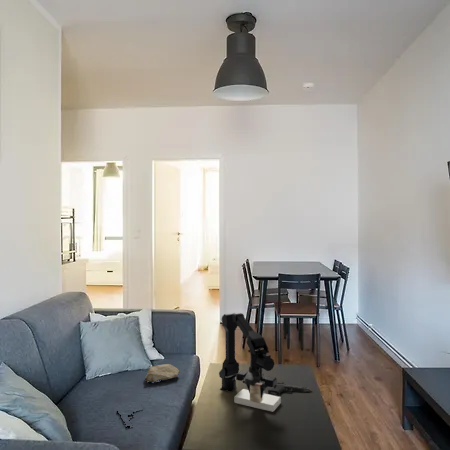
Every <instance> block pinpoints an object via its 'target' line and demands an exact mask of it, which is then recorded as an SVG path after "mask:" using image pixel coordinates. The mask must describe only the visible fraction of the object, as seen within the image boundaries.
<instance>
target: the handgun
mask: <svg viewBox="0 0 450 450" xmlns="http://www.w3.org/2000/svg"><path fill="white" fill-rule="evenodd" d="M283 392H287V393H293V392H296V393H297V392H300V393H309V392H312V389H311V388H310V387H305V386H299V385H292V384H291V385H289V384H285V382H282V381H281V382H277V384H276V385H275V386H274V387H272V389H267V394H269V395H274V396H278V397H280V394H281V393H283Z"/></svg>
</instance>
